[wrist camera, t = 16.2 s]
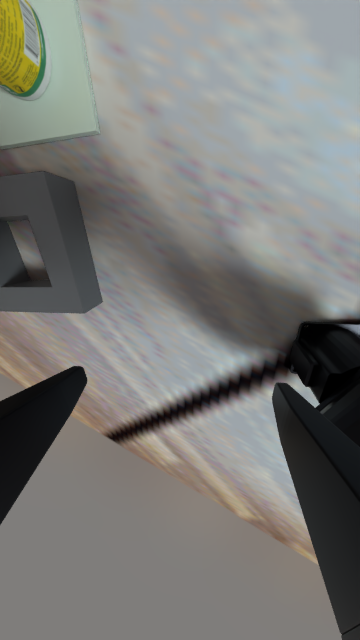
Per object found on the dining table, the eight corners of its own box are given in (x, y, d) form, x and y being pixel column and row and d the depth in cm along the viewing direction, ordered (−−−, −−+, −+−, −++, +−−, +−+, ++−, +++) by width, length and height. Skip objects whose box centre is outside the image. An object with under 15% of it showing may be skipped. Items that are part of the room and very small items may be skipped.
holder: (73, 181, 17) (43, 171, 14) (102, 302, 23) (84, 313, 19) (-27, 193, 20) (-73, 186, 16) (20, 300, 25) (-8, 311, 22)
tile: (62, -85, 11) (54, -101, 11) (100, 133, 16) (96, 130, 15) (-62, -35, 13) (-74, -46, 13) (3, 149, 17) (-4, 146, 17)
